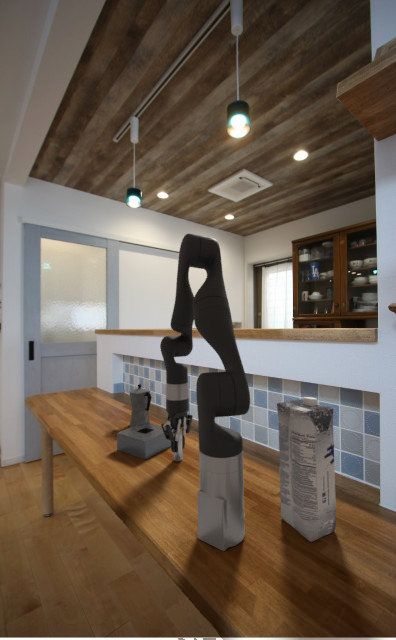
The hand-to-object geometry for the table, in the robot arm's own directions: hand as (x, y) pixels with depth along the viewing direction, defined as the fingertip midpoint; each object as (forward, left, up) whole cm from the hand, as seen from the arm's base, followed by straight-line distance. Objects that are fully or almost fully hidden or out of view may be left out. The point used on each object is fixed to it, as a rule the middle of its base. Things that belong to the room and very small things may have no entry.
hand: (178, 449), depth 95 cm
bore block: (+1, +16, -3) cm, 16 cm away
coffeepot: (+17, +35, -3) cm, 39 cm away
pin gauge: (0, 0, -3) cm, 3 cm away
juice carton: (-9, -43, -3) cm, 44 cm away
